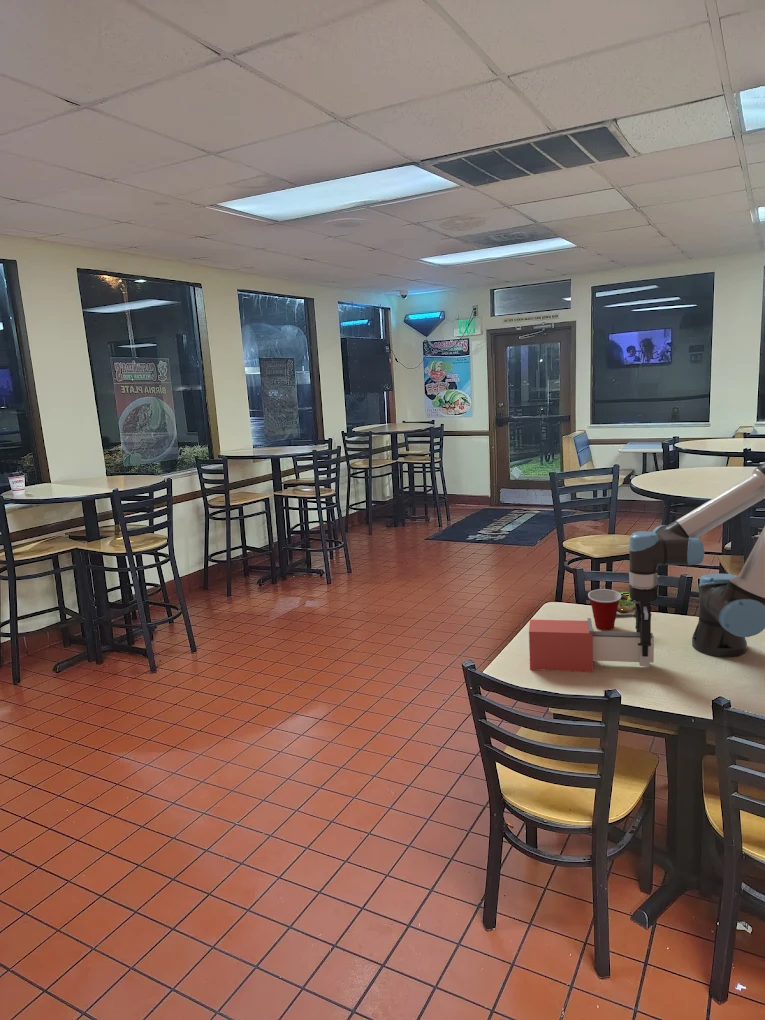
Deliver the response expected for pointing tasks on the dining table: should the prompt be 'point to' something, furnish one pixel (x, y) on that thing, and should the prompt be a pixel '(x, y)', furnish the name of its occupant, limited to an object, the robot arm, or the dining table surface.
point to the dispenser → (561, 645)
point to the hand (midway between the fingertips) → (642, 660)
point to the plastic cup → (604, 607)
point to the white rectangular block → (618, 646)
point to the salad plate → (626, 606)
